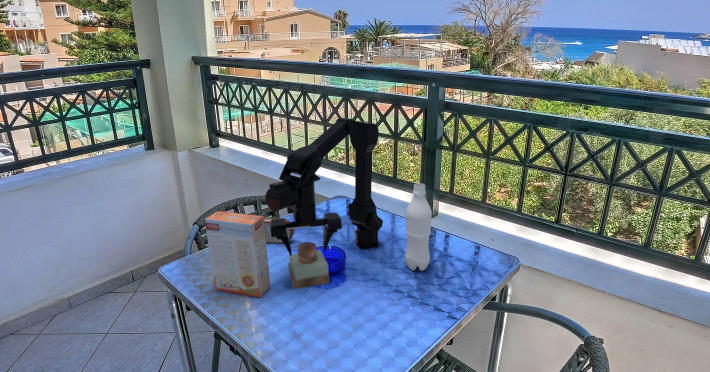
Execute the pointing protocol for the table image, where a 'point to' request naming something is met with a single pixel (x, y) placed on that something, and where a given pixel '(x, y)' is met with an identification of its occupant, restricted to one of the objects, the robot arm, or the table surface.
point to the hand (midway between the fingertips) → (307, 252)
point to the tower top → (308, 267)
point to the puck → (307, 252)
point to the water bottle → (418, 229)
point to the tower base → (308, 280)
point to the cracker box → (238, 253)
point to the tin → (268, 232)
